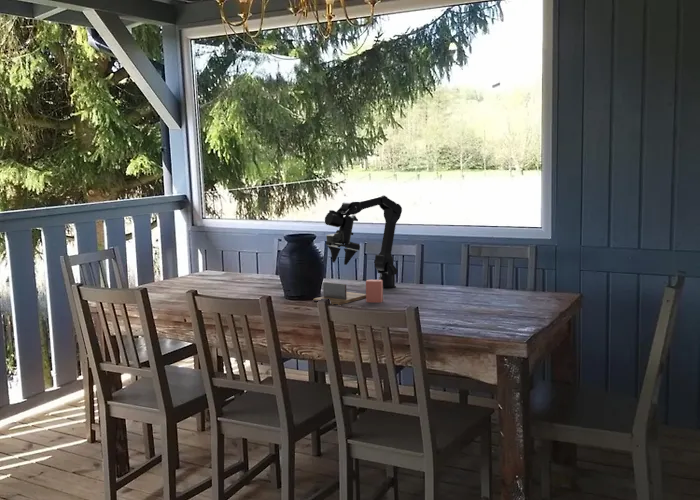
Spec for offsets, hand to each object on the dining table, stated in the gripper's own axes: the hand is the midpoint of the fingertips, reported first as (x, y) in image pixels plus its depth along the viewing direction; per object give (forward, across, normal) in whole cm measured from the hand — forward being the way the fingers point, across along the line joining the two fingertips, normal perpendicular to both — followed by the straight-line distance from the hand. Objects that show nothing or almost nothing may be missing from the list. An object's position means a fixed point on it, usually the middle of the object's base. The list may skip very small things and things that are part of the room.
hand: (339, 263), depth 313 cm
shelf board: (+15, +9, -2) cm, 17 cm away
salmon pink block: (+13, +22, +6) cm, 27 cm away
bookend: (+15, +10, -6) cm, 19 cm away
